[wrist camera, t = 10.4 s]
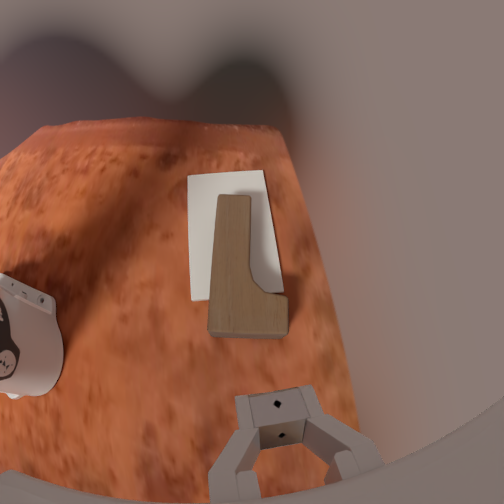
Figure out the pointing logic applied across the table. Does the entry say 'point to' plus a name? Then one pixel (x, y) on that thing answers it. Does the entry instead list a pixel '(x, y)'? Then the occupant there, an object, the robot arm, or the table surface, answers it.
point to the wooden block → (240, 280)
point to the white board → (203, 224)
